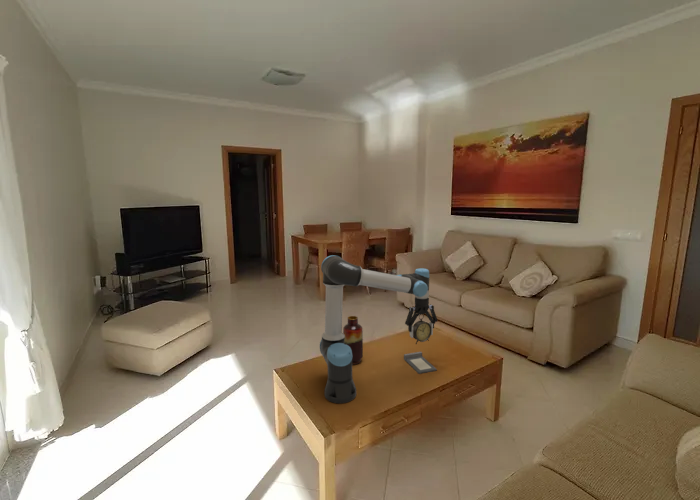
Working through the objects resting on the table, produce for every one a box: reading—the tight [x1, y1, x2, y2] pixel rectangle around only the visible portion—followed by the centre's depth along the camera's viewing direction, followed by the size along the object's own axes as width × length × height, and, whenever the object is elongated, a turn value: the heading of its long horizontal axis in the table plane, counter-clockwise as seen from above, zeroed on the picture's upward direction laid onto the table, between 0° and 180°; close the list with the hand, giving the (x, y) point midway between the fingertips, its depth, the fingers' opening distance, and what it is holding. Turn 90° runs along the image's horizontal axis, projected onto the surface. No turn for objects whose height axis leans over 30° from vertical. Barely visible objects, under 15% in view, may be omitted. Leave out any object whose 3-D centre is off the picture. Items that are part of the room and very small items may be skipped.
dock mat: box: [403, 351, 438, 375], centre depth 189 cm, size 11×18×3 cm, turn 17°
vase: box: [342, 315, 364, 366], centre depth 192 cm, size 11×11×26 cm
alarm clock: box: [412, 314, 432, 345], centre depth 185 cm, size 11×5×16 cm, turn 117°
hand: (421, 335), depth 185 cm, fingers closed on alarm clock, 11 cm apart
